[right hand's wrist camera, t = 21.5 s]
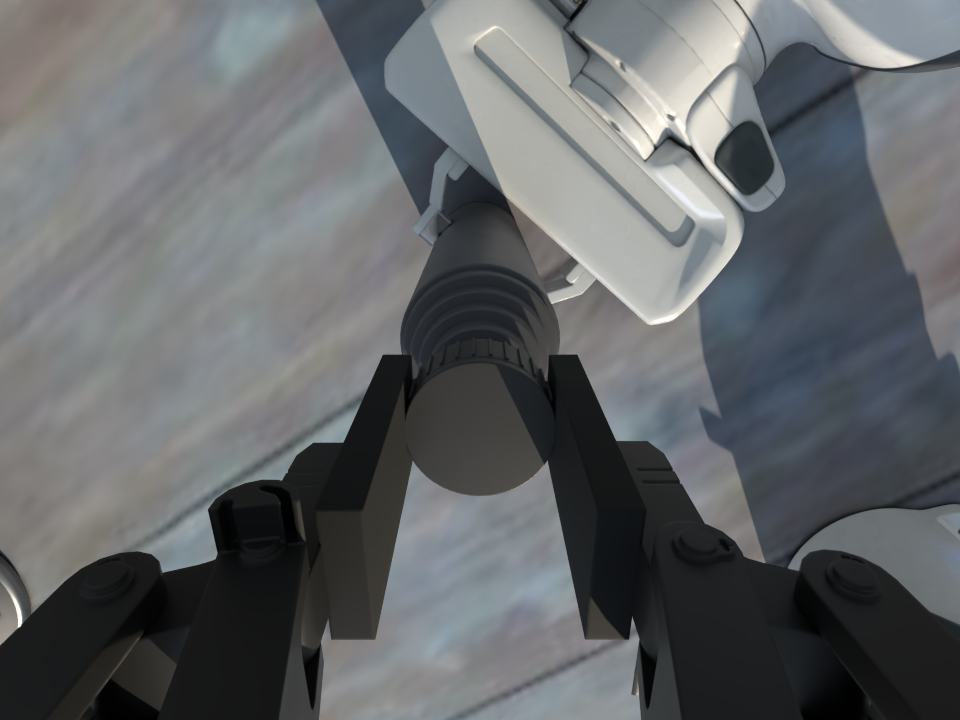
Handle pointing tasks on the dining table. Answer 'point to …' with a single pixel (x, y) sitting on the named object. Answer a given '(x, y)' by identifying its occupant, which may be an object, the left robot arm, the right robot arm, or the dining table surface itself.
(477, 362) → the cap
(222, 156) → the dining table surface
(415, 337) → the bottle
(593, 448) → the right robot arm
